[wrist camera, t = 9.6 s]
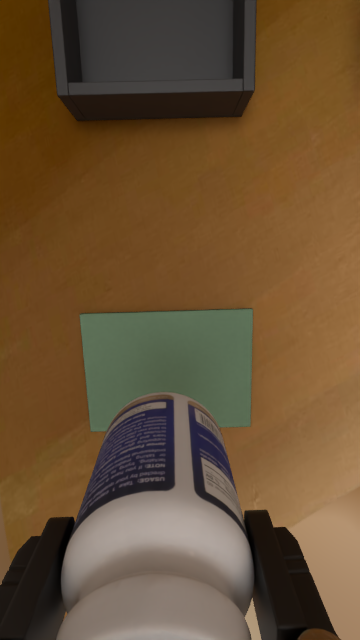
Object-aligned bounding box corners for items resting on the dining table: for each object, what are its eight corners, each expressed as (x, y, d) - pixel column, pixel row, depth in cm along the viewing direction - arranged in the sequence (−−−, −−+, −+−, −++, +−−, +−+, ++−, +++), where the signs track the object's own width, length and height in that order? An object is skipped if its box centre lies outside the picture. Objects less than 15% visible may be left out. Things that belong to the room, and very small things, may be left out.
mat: (91, 429, 34) (90, 431, 33) (80, 313, 31) (79, 314, 31) (249, 424, 34) (250, 426, 34) (251, 308, 31) (252, 309, 31)
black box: (77, 120, 28) (56, 95, 23) (59, -84, 25) (32, -161, 20) (241, 116, 28) (254, 90, 23) (243, -88, 25) (259, -165, 20)
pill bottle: (98, 480, 17) (-2, 791, 7) (117, 377, 16) (26, 587, 6) (208, 499, 17) (250, 820, 8) (234, 399, 16) (323, 632, 7)
